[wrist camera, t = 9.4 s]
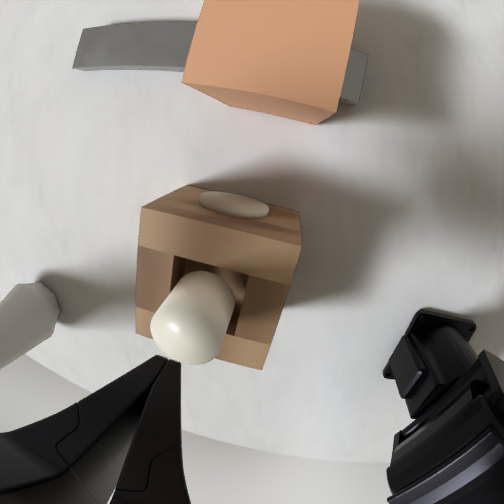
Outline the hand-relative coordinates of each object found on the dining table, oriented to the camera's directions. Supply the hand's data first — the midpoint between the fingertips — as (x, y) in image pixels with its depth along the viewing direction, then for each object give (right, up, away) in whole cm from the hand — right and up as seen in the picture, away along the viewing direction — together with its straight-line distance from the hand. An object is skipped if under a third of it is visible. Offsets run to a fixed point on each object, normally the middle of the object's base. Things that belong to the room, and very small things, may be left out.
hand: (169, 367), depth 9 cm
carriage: (+5, +14, +6) cm, 16 cm away
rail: (0, +16, +6) cm, 17 cm away
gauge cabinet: (+1, +4, +10) cm, 11 cm away
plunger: (0, +2, +5) cm, 5 cm away
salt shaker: (-17, -1, +15) cm, 23 cm away
